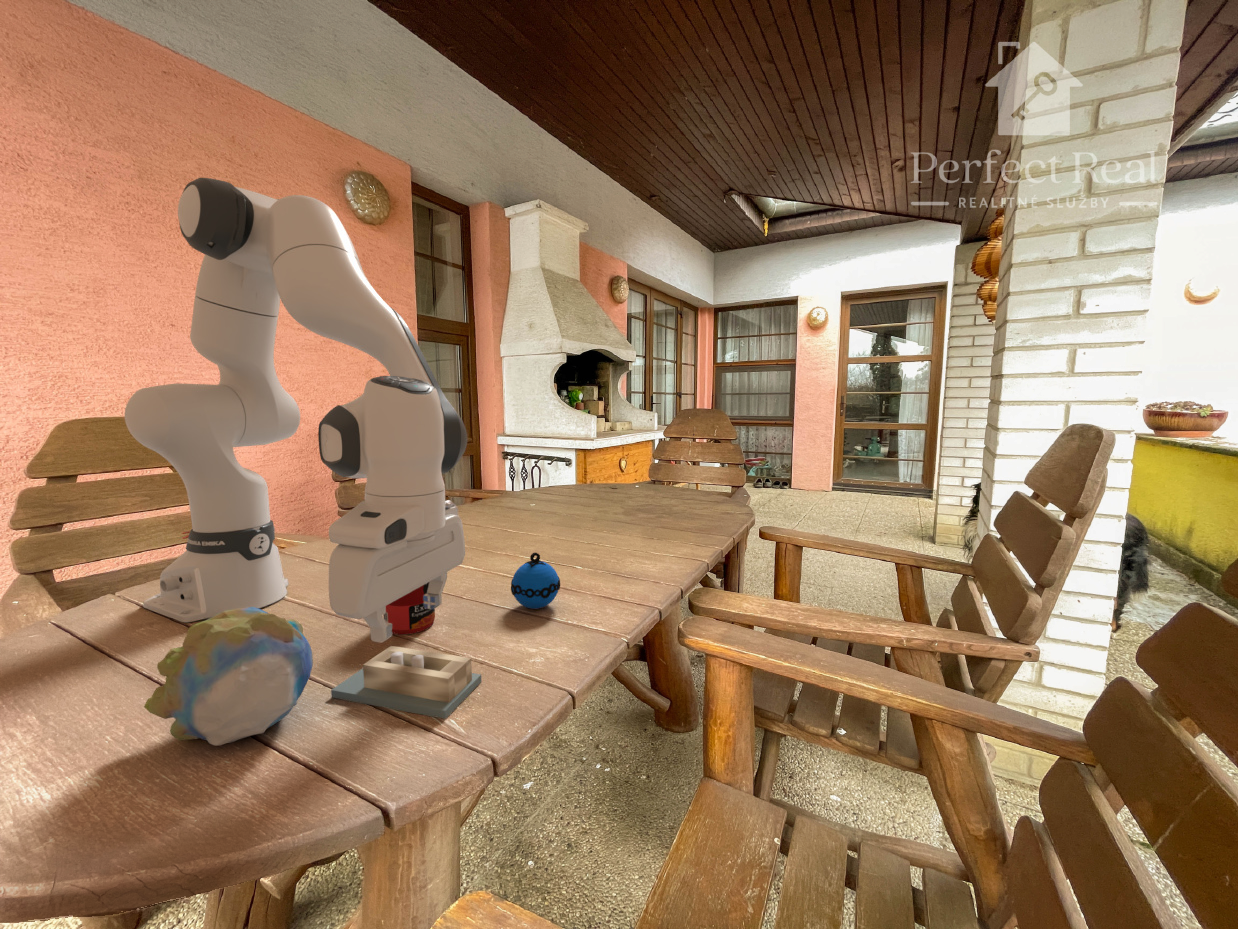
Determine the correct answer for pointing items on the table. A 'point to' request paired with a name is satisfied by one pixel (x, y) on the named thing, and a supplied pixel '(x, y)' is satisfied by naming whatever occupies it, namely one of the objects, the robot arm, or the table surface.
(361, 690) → the boss board
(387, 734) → the table surface
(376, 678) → the beige wooden rectangular frame
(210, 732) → the decorative rock
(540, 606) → the ornament
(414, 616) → the canned food
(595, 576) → the table surface
